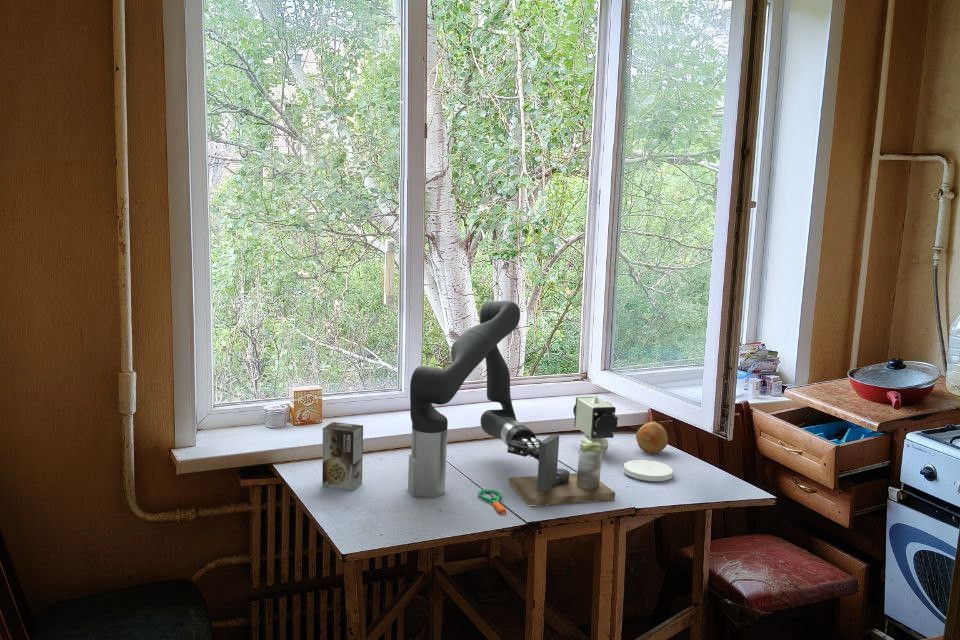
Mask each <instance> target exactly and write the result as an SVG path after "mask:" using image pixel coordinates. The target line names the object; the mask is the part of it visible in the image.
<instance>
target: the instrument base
mask: <svg viewBox="0 0 960 640" xmlns="http://www.w3.org/2000/svg"><path fill="white" fill-rule="evenodd" d="M602 454H603V453H602V450H601V445H600V444H599V443H582V442H581V443H580V447H579V448H578V461H577V473H576V472H575V473H574V472H573V473H570V476H569V482H568V483H563V484H561V483H558V484H557V485H555V486H552V487H550V488H549V489H548V490H546V491H545V492H544V493H541V492H537V479H538V475H533V476H532V475H531V476H530V475H529V476H527V475H526V476H515V477H508V483H507V484H509V485H508V486H509V488H511V489H512V490H513V491H514V492H515V493H516V494H517V495H518V496H519V497H520V499H522V501H524V503H525V504H526V505H527V506H529V505H530V506H531V505H544V506H549V505H548V504H557V505H565V504H564V503H570V504H577V503H576V502H582V503H587V502H586V501H595V502H599V501H598V500H608V501H613V500H612V499H616V492H615V491H614V490H612V489H611V488H610V487H609V486H607V485H606V484H605V483H603V482H602V481H601V467H602V465H601V464H602ZM596 500H597V501H596ZM574 502H575V503H574ZM546 504H547V505H546Z"/></svg>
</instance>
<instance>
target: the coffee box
mask: <svg viewBox="0 0 960 640" xmlns="http://www.w3.org/2000/svg"><path fill="white" fill-rule="evenodd" d="M363 437H364V425H362V424H361V425H360V424H354V423H353V424H352V423H346V422H338V421H337V422H334V421H333V422H330V423H329V424H328V425H326V426H324V427H322V475H321V476H322V477H321V478H322V487H323V488H331V489H339V490H346V491H354V490H356V489H358V488H359V487H360V486H361V485H362V484H363V451H364V447H363V446H364V444H363V443H364V438H363Z"/></svg>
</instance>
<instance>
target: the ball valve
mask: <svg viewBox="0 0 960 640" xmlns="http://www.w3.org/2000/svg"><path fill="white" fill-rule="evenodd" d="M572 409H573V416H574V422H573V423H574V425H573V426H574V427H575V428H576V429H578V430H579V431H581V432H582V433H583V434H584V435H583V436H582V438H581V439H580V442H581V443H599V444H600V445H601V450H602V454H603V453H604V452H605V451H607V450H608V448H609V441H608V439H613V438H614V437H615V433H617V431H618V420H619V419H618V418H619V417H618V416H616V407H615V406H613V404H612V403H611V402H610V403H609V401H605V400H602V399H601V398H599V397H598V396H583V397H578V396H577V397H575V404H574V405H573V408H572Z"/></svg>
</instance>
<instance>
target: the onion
mask: <svg viewBox="0 0 960 640" xmlns="http://www.w3.org/2000/svg"><path fill="white" fill-rule="evenodd" d="M635 439H636V443H637V445H638V448H640V450H641V451H643V452H645V453H647V454H650V455H656V454H658V453H660V452H662V451H663V450H665V448H666V447H667V445H668V444H669V436H668V433H667V431H666V429H665V428H664V426H663V425H662V424H660V423H658V422H657V421H649V422H647V423H645V424H643V425H642V426H641V427H640V428H639V429H638V430H637V432H636V434H635Z"/></svg>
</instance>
